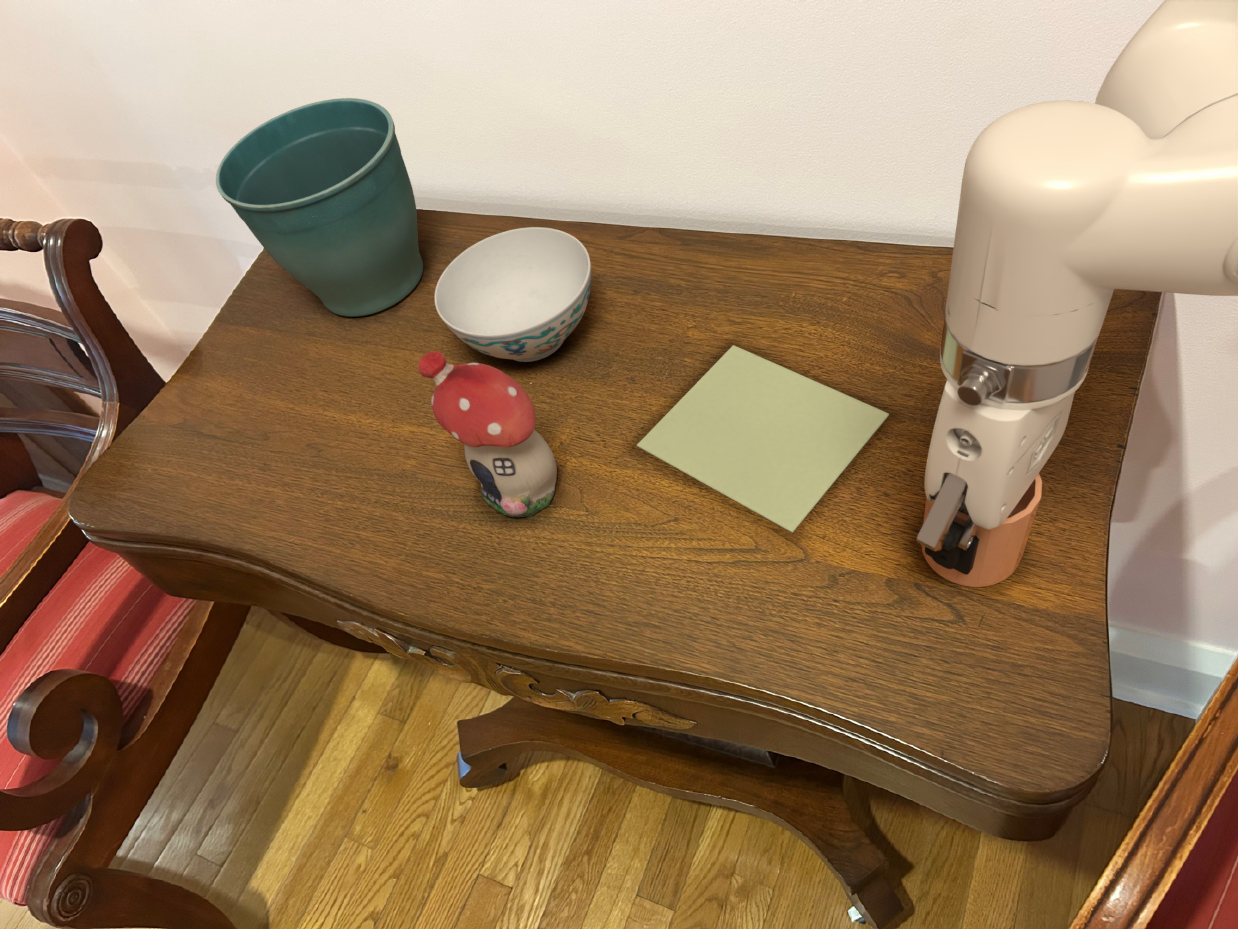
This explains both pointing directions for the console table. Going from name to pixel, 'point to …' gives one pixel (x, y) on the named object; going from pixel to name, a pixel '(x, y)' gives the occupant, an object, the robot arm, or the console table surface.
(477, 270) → the chinaware
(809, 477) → the mat
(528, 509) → the decorative ornament
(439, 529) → the console table surface
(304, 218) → the flower pot
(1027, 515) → the cup
